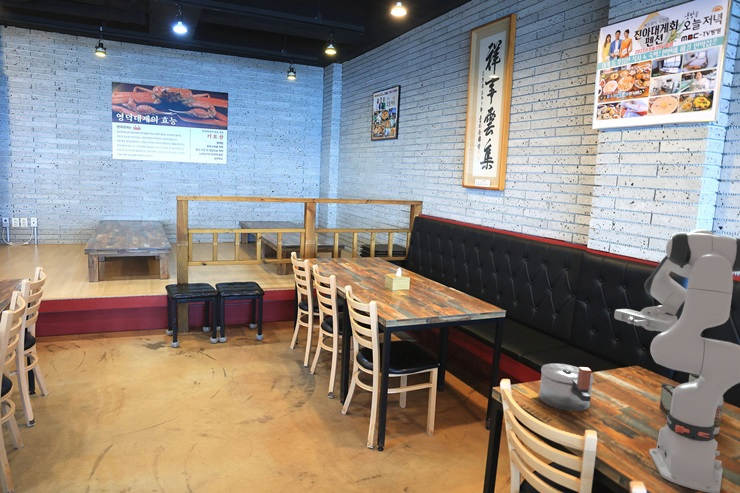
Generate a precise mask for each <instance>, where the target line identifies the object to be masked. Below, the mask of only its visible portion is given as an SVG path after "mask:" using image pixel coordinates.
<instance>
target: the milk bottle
mask: <svg viewBox="0 0 740 493" xmlns="http://www.w3.org/2000/svg"><path fill="white" fill-rule="evenodd" d="M723 396H724V394H723V395H722V396H721V398H720V400H719V403H718V406H717V410H716V414H715V419H714V423H715V434H714V436H716V435H719V432H720V429H721V422H722V415H723V409H724V397H723Z"/></svg>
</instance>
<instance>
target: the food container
mask: <svg viewBox="0 0 740 493" xmlns="http://www.w3.org/2000/svg"><path fill="white" fill-rule="evenodd" d="M677 386H678V385H676V384H675V385H674V384H671V383H668V382H667V383H666V382H662V383H661V385H660V389H661V390H660V401H659V410H661V412H662V413H663V414H664V416H665V417H666V418H667V415H668V412H669V411H670V409H671V402H672V396H673V391H674V389H675V388H676V387H677Z"/></svg>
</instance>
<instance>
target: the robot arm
mask: <svg viewBox="0 0 740 493" xmlns="http://www.w3.org/2000/svg"><path fill="white" fill-rule="evenodd" d="M665 251H666V252H665V254H666V255H665V256H664V257H663V258H662V260H661V261H660V262H659V263H658V265H657V266H656V267H655V269H654V270H653V272H652V274H650V275H649V277H648V278H647V279H646V280H645V282H644V286H643V287H644V291H645V292H646V294H648V295H650V296H651V297H652V298H653V299H655V300H657V302H659V303H660V304H661V305H660V304H659V305H656V306H654V305H653V306H648V307H644V308H642V309H641V310H640V311H637V310H634V309H628V308H620V309H619V308H618V309H615V310H614V313H613V314H614V316H613V317H614V319H615V320H618V321H622V322H625V323H627V324H630V325H634V326H636V327H642V328H644V329H645V330H647V331H650V332H653V331H654V332H655V331H656V332H660V333H658V334H657V335H656V336H654V337H653V339H652V341H651V343H650V354H651V356H652V359H653V361H654V362H655V363H656V364H657V365H660V366H662V367H664V368H667V369H671V370H674V371H678V372H684V373H689V374H690V373H693V374H698V375H700V377H699V378H698V379H697V380H695V381H693V382H689V381H688V382H684V383H680V384H679V385H676V386H677V387H676V388H675V389H674V391H673V396H672V402H671V409H670V411H669V412H668V415H667V417H666V425H665V426H663V427H661V428H659V431H658V432H659V433H658V436H657V437H658V439H657V443H656V444H657V445H656V447H655V448H649V451H648V453H649V455H650V458H651V459H652V462H653V463H654V465H655V466H656V469H657V470H658V472H659V474H660V476H661V477H662V478H664V479H665V480H667V481H669V482H671V483H673V484H676V485H679V486H682V487H685V488H689V489H691V490H695V491H700V492H704V493H721V487H722V479H723V472H724V470H723V468H722V464H723V463H722V460H719V459H716V457H719V456H720V454H721V451H719V450H717V449H718V444H719V443H718V442H717V441H716V439H715V435H714V434H715V423H714V419H715V414H716V410H717V406H718V403H719V400H720V398H721V396H722V395H723V396H724V394H725V393H726V392H727V391H728V390H729V389H731V388H732V387H733V386H735V385H738V384H740V345H739V344H737V343H733V342H731V341H724V340H719V339H713V338H707V337H702V336H701V334H702V333H703V331H704V330H706V329H710V328H715V327H717V326H721V325H723V324H725V323H726V322H727V321H728V320H729V318H730V313H731V305H732V299H733V291H734V290H733V287H734V275H733V274H734V273H735V272H736V273H737V272H740V238H739V237H736V236H735V237H730V236H724V235H717V234H716V233H714V232H712V231H710V230H708V229H705V228H703V229H702V228H699V229H695V230H691V231H690V232H689V233H688V232H685V231H682V232H675V233H672V235H671V236H670V237H669V239H668V241H667V243H666V246H665ZM670 273H674V274H677V275H678V276H681V277H682V278H686V279H688V281H687V285H686V286H687V287H686V288H685V287H683V286H682V285H681V284H679V283H678V282H677V281H675V280H674V279H673V278H672V277H671V276H670Z"/></svg>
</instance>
